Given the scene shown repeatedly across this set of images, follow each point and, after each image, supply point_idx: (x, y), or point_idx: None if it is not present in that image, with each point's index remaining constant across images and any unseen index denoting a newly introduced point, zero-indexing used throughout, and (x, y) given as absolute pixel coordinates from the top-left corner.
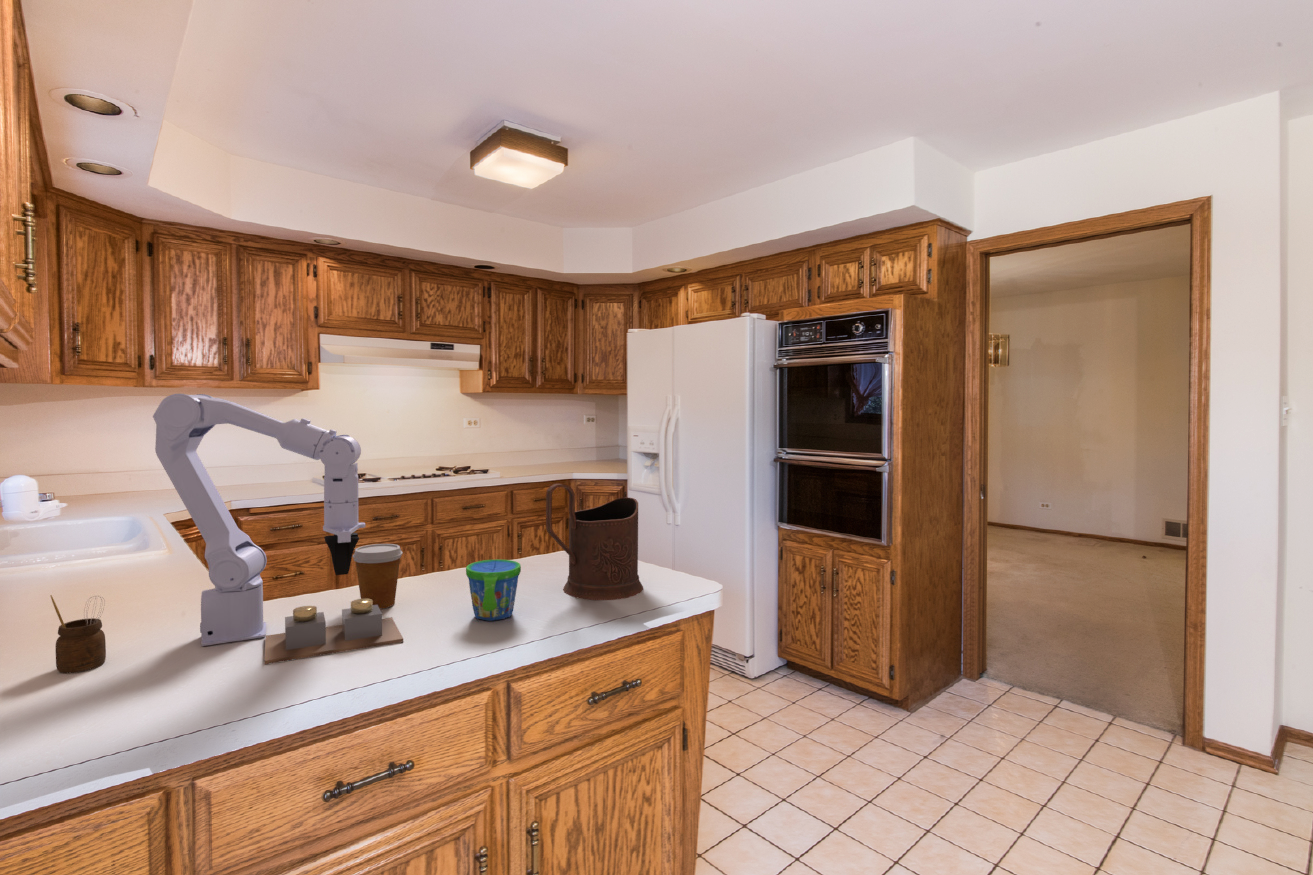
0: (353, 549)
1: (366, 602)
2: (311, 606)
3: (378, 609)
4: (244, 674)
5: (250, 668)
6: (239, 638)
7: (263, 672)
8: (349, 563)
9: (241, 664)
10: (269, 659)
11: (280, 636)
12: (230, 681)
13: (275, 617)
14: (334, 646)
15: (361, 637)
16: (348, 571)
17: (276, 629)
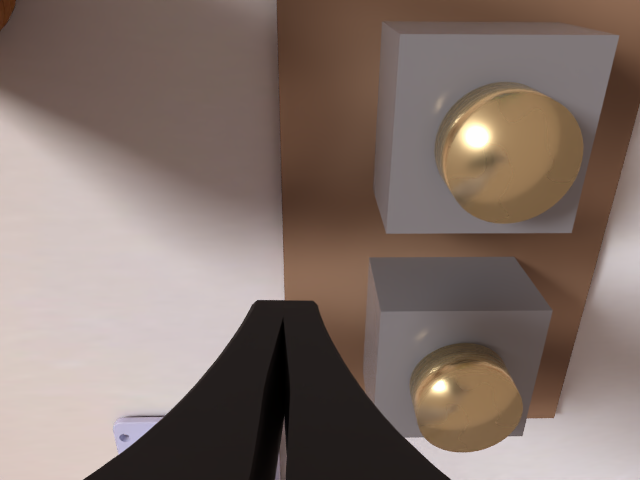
0: (412, 447)
1: (558, 136)
2: (444, 391)
3: (514, 43)
4: (593, 445)
5: (553, 435)
6: (279, 477)
7: (615, 409)
8: (338, 352)
9: (501, 454)
10: (550, 407)
11: None
12: (621, 467)
13: (23, 390)
14: None
15: None
16: (317, 309)
17: (188, 386)
